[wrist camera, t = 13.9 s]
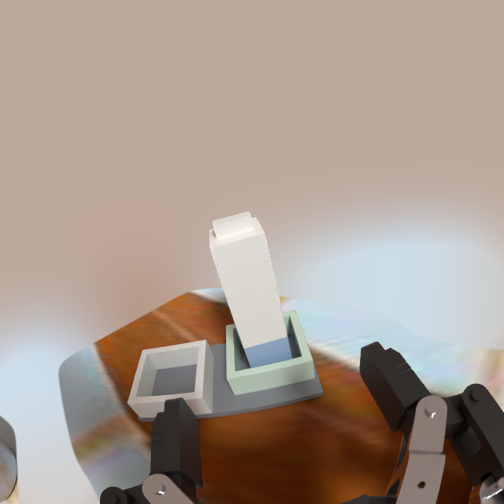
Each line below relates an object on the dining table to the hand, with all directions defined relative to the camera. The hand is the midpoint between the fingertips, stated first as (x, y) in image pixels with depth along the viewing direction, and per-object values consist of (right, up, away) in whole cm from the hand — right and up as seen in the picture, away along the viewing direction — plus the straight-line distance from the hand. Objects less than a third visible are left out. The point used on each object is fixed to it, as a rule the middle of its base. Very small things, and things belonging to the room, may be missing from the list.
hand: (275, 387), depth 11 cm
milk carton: (+1, -4, +14) cm, 15 cm away
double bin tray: (-3, -6, +14) cm, 15 cm away
